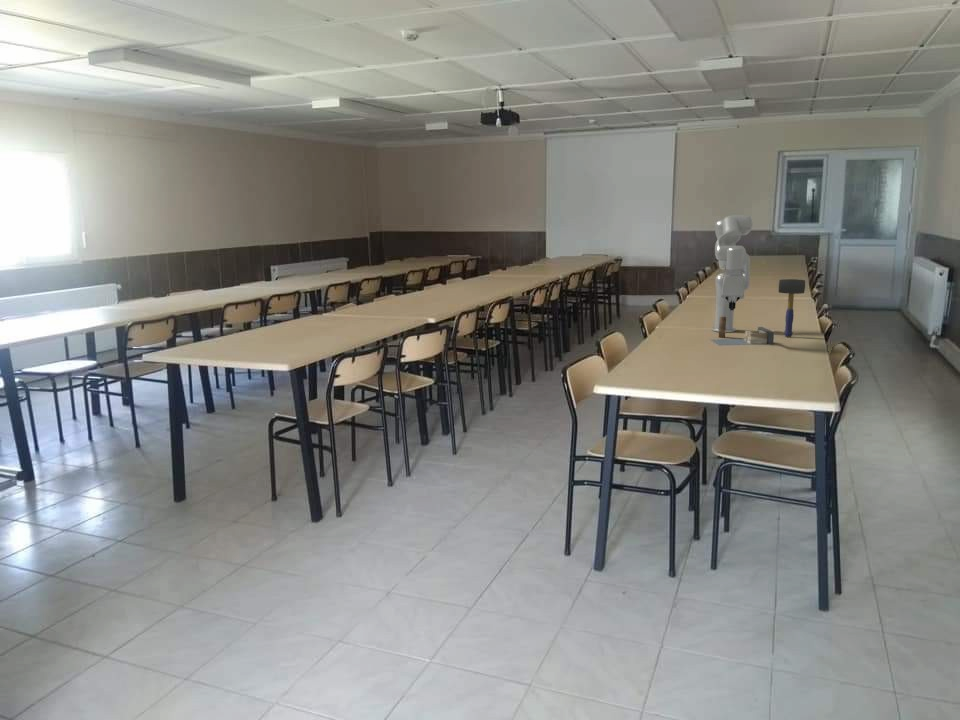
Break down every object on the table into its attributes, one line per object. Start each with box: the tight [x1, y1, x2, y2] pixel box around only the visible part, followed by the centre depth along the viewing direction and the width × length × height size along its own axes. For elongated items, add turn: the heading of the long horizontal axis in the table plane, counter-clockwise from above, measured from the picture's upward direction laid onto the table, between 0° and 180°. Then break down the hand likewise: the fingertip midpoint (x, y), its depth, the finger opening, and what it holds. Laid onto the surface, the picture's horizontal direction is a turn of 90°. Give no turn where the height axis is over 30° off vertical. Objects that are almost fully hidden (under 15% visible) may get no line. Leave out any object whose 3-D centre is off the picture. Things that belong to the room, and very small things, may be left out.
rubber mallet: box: [778, 278, 806, 338], centre depth 361 cm, size 12×8×30 cm, turn 66°
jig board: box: [710, 326, 775, 346], centre depth 346 cm, size 15×26×8 cm, turn 90°
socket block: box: [744, 329, 768, 344], centre depth 345 cm, size 8×8×5 cm
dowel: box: [718, 317, 726, 339], centre depth 358 cm, size 3×3×12 cm
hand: (731, 310), depth 346 cm, fingers closed
